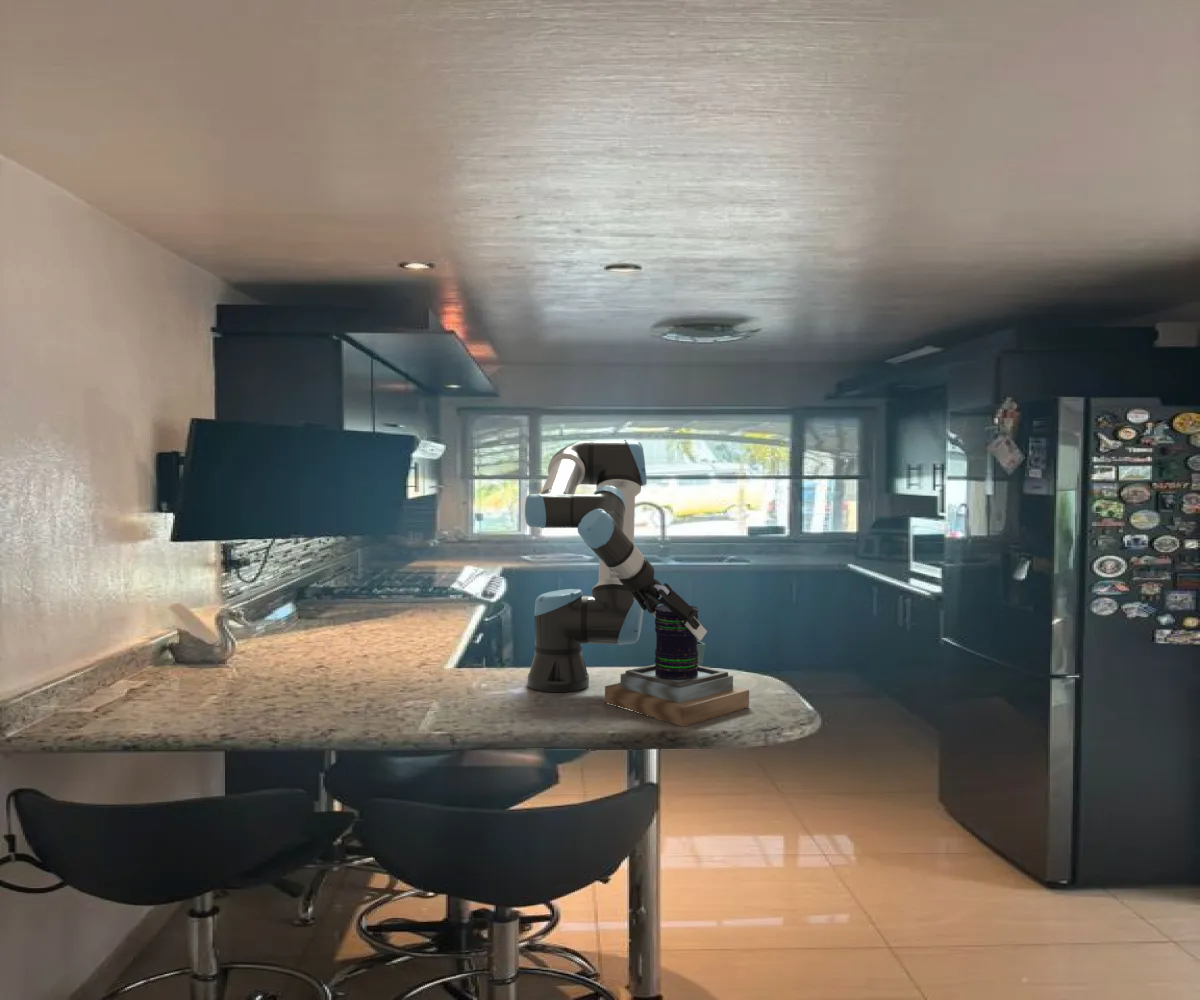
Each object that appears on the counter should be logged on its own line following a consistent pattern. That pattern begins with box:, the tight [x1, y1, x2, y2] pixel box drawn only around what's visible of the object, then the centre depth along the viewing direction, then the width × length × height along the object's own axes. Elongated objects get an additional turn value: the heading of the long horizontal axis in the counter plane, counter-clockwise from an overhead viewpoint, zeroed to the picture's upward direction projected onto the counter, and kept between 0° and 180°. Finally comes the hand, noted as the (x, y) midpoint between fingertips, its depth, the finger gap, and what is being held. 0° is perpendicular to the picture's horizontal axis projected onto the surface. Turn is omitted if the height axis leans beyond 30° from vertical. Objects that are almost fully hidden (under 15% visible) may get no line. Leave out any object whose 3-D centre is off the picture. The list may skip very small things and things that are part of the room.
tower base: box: [604, 664, 750, 727], centre depth 211 cm, size 24×22×8 cm
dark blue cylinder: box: [654, 604, 700, 679], centre depth 210 cm, size 10×10×15 cm
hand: (687, 631), depth 212 cm, fingers open, 10 cm apart
